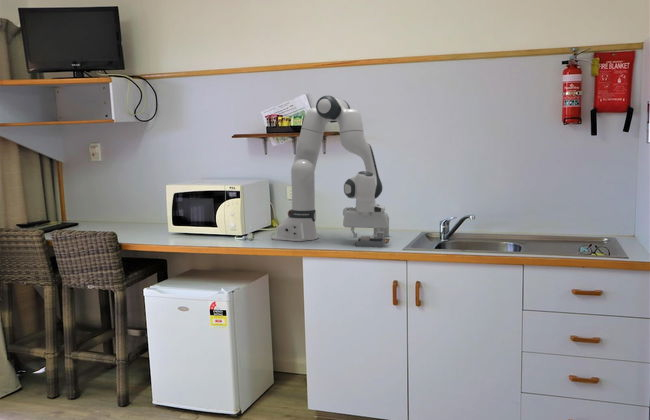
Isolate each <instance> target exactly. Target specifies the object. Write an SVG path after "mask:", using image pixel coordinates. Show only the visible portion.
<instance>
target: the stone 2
mask: <svg viewBox="0 0 650 420" xmlns="http://www.w3.org/2000/svg"><path fill="white" fill-rule="evenodd" d="M376 233H377V231H376V232H375V234H376ZM377 238H381V239H384V238H385V237H384V232H378V234H377Z"/></svg>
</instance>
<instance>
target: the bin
mask: <svg viewBox="0 0 650 420" xmlns="http://www.w3.org/2000/svg"><path fill="white" fill-rule="evenodd" d="M355 241H356V242H355V247H356V248H357V247H359V248H362V247H363V248H382V249H383V248H384V246H385V245H386V244H385V239H381V238H374V237H370V241H360V237H358V238H357V239H356V240H355Z"/></svg>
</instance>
